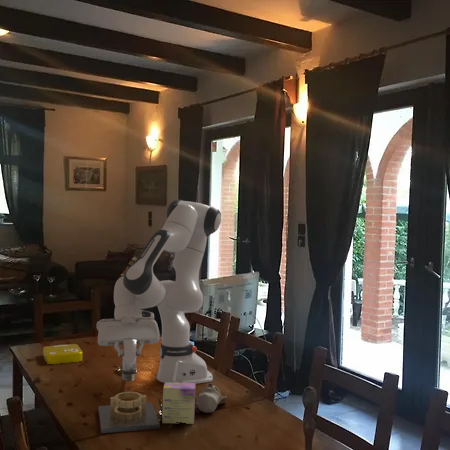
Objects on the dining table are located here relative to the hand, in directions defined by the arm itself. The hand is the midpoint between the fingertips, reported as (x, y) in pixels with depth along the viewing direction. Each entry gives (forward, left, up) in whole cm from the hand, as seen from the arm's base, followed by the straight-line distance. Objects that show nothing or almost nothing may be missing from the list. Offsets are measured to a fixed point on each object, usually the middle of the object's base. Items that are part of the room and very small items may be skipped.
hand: (129, 355), depth 173 cm
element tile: (+22, -71, -22) cm, 77 cm away
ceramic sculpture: (-29, -6, -22) cm, 37 cm away
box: (-16, +3, -22) cm, 27 cm away
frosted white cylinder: (0, -1, -8) cm, 8 cm away
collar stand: (0, -1, -21) cm, 21 cm away
